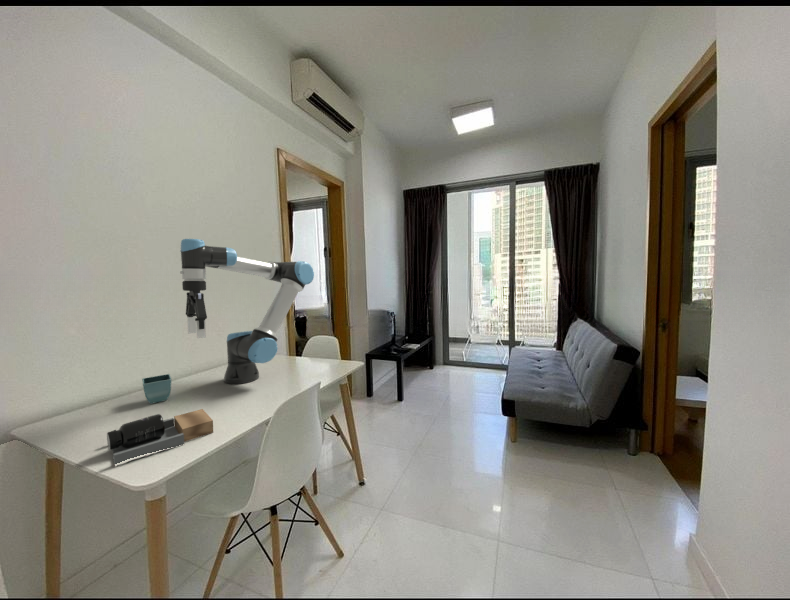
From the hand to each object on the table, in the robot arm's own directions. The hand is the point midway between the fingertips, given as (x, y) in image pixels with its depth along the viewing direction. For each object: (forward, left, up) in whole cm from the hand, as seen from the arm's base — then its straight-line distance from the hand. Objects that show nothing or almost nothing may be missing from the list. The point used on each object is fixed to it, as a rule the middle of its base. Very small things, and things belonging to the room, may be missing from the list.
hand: (196, 335), depth 117 cm
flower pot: (+11, -14, -27) cm, 32 cm away
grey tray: (+19, +24, -27) cm, 40 cm away
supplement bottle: (+15, +22, -23) cm, 35 cm away
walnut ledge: (+7, +24, -27) cm, 36 cm away
